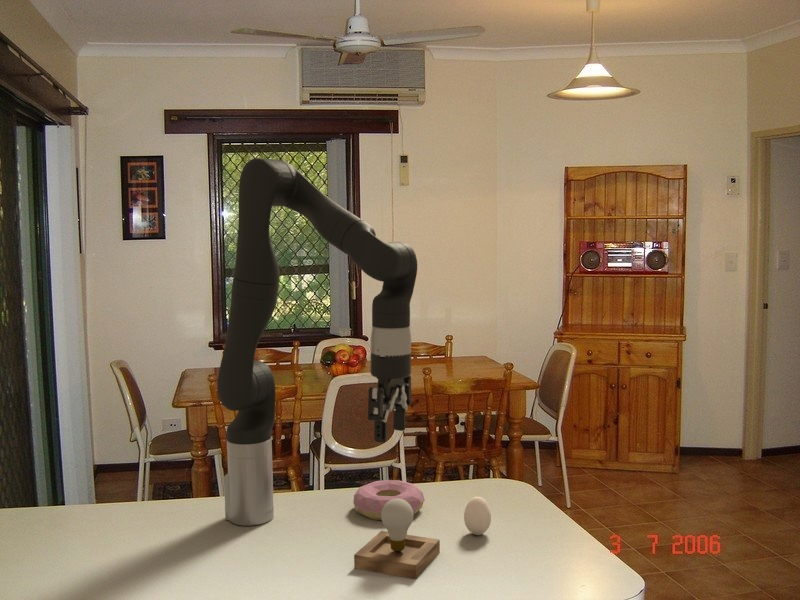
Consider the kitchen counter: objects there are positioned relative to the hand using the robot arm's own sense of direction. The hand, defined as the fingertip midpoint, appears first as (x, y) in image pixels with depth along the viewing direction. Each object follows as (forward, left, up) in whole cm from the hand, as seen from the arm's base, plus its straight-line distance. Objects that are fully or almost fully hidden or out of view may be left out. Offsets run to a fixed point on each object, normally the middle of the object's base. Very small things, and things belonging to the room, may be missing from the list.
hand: (390, 435), depth 150 cm
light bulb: (+3, -4, -21) cm, 21 cm away
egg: (+13, +13, -23) cm, 29 cm away
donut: (-9, +19, -23) cm, 31 cm away
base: (+3, -4, -22) cm, 23 cm away
